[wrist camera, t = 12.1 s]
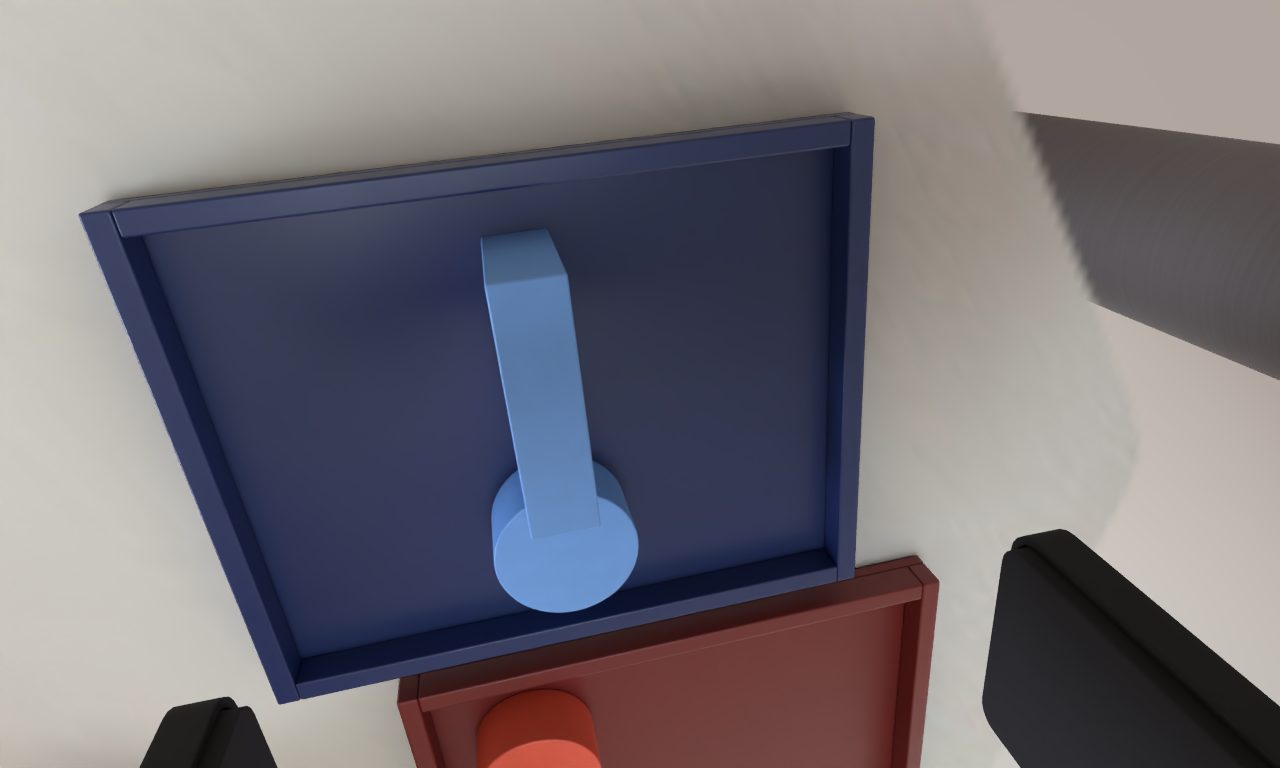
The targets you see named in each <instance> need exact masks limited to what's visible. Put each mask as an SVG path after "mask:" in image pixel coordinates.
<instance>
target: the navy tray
mask: <svg viewBox="0 0 1280 768" xmlns="http://www.w3.org/2000/svg"><path fill="white" fill-rule="evenodd" d="M874 125H875V119H874V117H870V116H865V115H859V114H854V113H850V112H845V113H837V114H829V115H820V116H812V117H804V118H795V119H787V120H779V121H770V122H762V123H753V124H745V125H737V126H728V127H720V128H712V129H703V130H695V131H687V132H678V133H670V134H662V135H653V136H645V137H637V138H628V139H620V140H612V141H603V142H595V143H587V144H578V145H570V146H562V147H553V148H545V149H537V150H528V151H520V152H512V153H503V154H495V155H487V156H478V157H470V158H461V159H453V160H445V161H436V162H428V163H420V164H411V165H403V166H395V167H386V168H378V169H370V170H361V171H353V172H345V173H336V174H328V175H320V176H311V177H303V178H295V179H286V180H278V181H270V182H261V183H253V184H245V185H236V186H228V187H220V188H211V189H203V190H195V191H186V192H178V193H169V194H161V195H153V196H144V197H136V198H128V199H119V200H111V201H107V202H104V203H102V204H100V205H98V206H95V207H93V208H91V209H89V210H86V211H84V212H82V213H80V214H79V218H80V220H81V223H82V225H83V228H84V230H85V232H86V235H87V237H88V240H89V242H90V245H91V247H92V250H93V252H94V254H95V257H96V259H97V262H98V264H99V267H100V269H101V272H102V274H103V276H104V279H105V281H106V284H107V286H108V289H109V291H110V294H111V296H112V298H113V301H114V303H115V306H116V308H117V311H118V313H119V316H120V318H121V320H122V323H123V325H124V328H125V330H126V333H127V335H128V338H129V340H130V343H131V345H132V347H133V350H134V352H135V355H136V357H137V360H138V362H139V365H140V367H141V369H142V372H143V374H144V377H145V379H146V382H147V384H148V387H149V389H150V391H151V394H152V396H153V399H154V401H155V404H156V406H157V409H158V411H159V413H160V416H161V418H162V421H163V423H164V426H165V428H166V431H167V433H168V435H169V438H170V440H171V443H172V445H173V448H174V450H175V453H176V455H177V457H178V460H179V462H180V465H181V467H182V470H183V472H184V475H185V477H186V479H187V482H188V484H189V487H190V489H191V492H192V494H193V497H194V499H195V501H196V504H197V506H198V509H199V511H200V514H201V516H202V519H203V521H204V523H205V526H206V528H207V531H208V533H209V536H210V538H211V541H212V543H213V545H214V548H215V550H216V553H217V555H218V558H219V560H220V563H221V565H222V567H223V570H224V572H225V575H226V577H227V580H228V582H229V585H230V587H231V589H232V592H233V594H234V597H235V599H236V602H237V604H238V607H239V609H240V611H241V614H242V616H243V619H244V621H245V624H246V626H247V629H248V631H249V633H250V636H251V638H252V641H253V643H254V646H255V648H256V651H257V653H258V655H259V658H260V660H261V663H262V665H263V668H264V670H265V673H266V675H267V677H268V680H269V682H270V685H271V687H272V690H273V692H274V695H275V697H276V699H277V702H278V704H285V703H289V702H294V701H298V700H300V698H301V699H307V698H311V697H316V696H320V695H325V694H329V693H334V692H338V691H343V690H347V689H352V688H356V687H361V686H365V685H370V684H375V683H379V682H384V681H388V680H393V679H397V678H402V677H406V676H411V675H415V674H420V673H424V672H429V671H433V670H438V669H442V668H447V667H452V666H456V665H461V664H465V663H470V662H474V661H479V660H483V659H488V658H492V657H497V656H501V655H506V654H510V653H515V652H520V651H524V650H529V649H533V648H538V647H542V646H547V645H551V644H556V643H560V642H565V641H569V640H574V639H578V638H583V637H588V636H592V635H597V634H601V633H606V632H610V631H615V630H619V629H624V628H628V627H633V626H637V625H642V624H646V623H651V622H656V621H660V620H665V619H669V618H674V617H678V616H683V615H687V614H692V613H696V612H701V611H705V610H710V609H714V608H719V607H724V606H728V605H733V604H737V603H742V602H746V601H751V600H755V599H760V598H764V597H769V596H773V595H778V594H782V593H787V592H792V591H796V590H801V589H805V588H810V587H814V586H819V585H823V584H828V583H832V582H836V581H837V580H838V581H841V580H845V579H850V578H853V577H854V573H855V551H856V528H857V506H858V484H859V461H860V439H861V416H862V394H863V372H864V349H865V327H866V304H867V282H868V259H869V237H870V215H871V192H872V170H873V147H874ZM538 229H547V230H548V232H549V234H550V236H551V239H552V241H553V243H554V245H555V248H556V250H557V252H558V255H559V257H560V259H561V261H562V264H563V266H564V268H565V270H566V273H567V275H568V282H569V289H570V297H571V304H572V312H573V319H574V327H575V334H576V342H577V349H578V356H579V364H580V371H581V379H582V386H583V394H584V401H585V409H586V416H587V424H588V431H589V439H590V446H591V454H592V461H595V462H596V463H598V464H600V465H602V466H603V467H605V468H606V469H607V470H608V471H609V472H611V473H612V474H613V476H614V477H615V478H616V479H617V481H618V483H619V484H620V486H621V488H622V491H623V494H624V497H625V500H626V503H627V505H628V508H629V511H630V514H631V517H632V520H633V522H634V525H635V528H636V531H637V535H638V543H639V549H638V556H637V559H636V563H635V565H634V568H633V570H632V572H631V574H630V575H629V577H628V578H627V580H626V581H625V582H624V583H623V585H622V586H621V587H620V588H619V589H618V590H617V591H616V592H614V593H613V594H612V595H611V596H609V597H608V598H606V599H604V600H603V601H601V602H599V603H597V604H595V605H593V606H590V607H588V608H585V609H581V610H577V611H571V612H561V613H555V612H545V611H540V610H536V609H532V608H530V607H528V606H525V605H523V604H522V603H520V602H518V601H517V600H515V599H514V598H513V597H511V596H510V595H509V594H508V593H507V592H506V591H505V589H504V588H503V586H502V585H501V584H500V582H499V580H498V578H497V575H496V572H495V567H494V558H493V540H492V522H491V515H492V507H493V503H494V500H495V497H496V495H497V493H498V491H499V489H500V488H501V487H502V485H503V484H504V482H505V481H506V480H507V479H508V478H509V477H510V476H511V475H512V474H513V473H515V472H516V471H517V470H518V466H517V461H516V455H515V450H514V444H513V439H512V434H511V428H510V423H509V417H508V412H507V407H506V401H505V396H504V390H503V385H502V379H501V374H500V369H499V363H498V358H497V352H496V347H495V341H494V336H493V331H492V325H491V320H490V314H489V309H488V303H487V298H486V293H485V287H484V275H483V262H482V250H481V238H482V237H486V236H494V235H501V234H508V233H516V232H523V231H530V230H538Z"/></svg>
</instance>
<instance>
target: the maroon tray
mask: <svg viewBox="0 0 1280 768" xmlns="http://www.w3.org/2000/svg"><path fill="white" fill-rule="evenodd" d="M938 592H939V580H938V579H937V578H936V577H935V576H934V574H933V573H932V572H931V571H930V570H929V569H928V568H927V567H926V565H925V564H923V562H922V560H921V559H920V558H919V557H918V556H913V557H909V558H904V559H899V560H895V561H890V562H886V563H881V564H877V565H872V566H867V567H863V568H858V569H855V573H854V577H853V578H850V579H845V580H841V581H838V580H837V581H836V582H832V583H828V584H823V585H819V586H814V587H810V588H805V589H801V590H796V591H792V592H787V593H782V594H778V595H773V596H769V597H764V598H760V599H755V600H751V601H746V602H742V603H737V604H733V605H728V606H724V607H719V608H714V609H710V610H705V611H701V612H696V613H692V614H687V615H683V616H678V617H674V618H669V619H665V620H660V621H656V622H651V623H646V624H642V625H637V626H633V627H628V628H624V629H619V630H615V631H610V632H606V633H601V634H597V635H592V636H588V637H583V638H578V639H574V640H569V641H565V642H560V643H556V644H551V645H547V646H542V647H538V648H533V649H529V650H524V651H520V652H515V653H510V654H506V655H501V656H497V657H492V658H488V659H483V660H479V661H474V662H470V663H465V664H461V665H456V666H452V667H447V668H442V669H438V670H433V671H429V672H424V673H420V674H415V675H411V676H406V677H402V678H400V680H399V689H398V698H397V706H398V709H399V712H400V715H401V718H402V722H403V725H404V728H405V731H406V734H407V737H408V741H409V744H410V747H411V750H412V753H413V756H414V760H415V763H416V766H417V768H477V759H476V736H477V731H478V729H479V726H480V724H481V722H482V721H483V719H484V717H485V716H486V715H487V714H488V713H489V712H490V711H491V710H492V709H493V708H494V707H495V706H496V705H498V704H499V703H500V702H502V701H504V700H505V699H507V698H509V697H511V696H514V695H516V694H519V693H522V692H526V691H531V690H539V689H551V690H558V691H562V692H566V693H568V694H571V695H573V696H575V697H577V698H578V699H579V700H581V701H582V702H583V703H584V704H585V705H586V707H587V708H588V709H589V711H590V713H591V716H592V720H593V725H594V730H595V735H596V740H597V746H598V751H599V756H600V762H601V767H602V768H920V761H921V751H922V742H923V733H924V723H925V714H926V704H927V695H928V686H929V676H930V667H931V658H932V648H933V639H934V629H935V620H936V611H937V601H938Z"/></svg>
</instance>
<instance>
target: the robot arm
mask: <svg viewBox="0 0 1280 768" xmlns="http://www.w3.org/2000/svg"><path fill="white" fill-rule="evenodd" d="M982 704H983V710H984V713H985V716H986V718H987V721H988V723H989V725H990V726H991V728H992V729H993V731H994V732H995V734H996V735H997V736H998V738H999V739H1000V740H1001V742H1002V743H1003V744H1004V746H1005V747H1006V748H1007V750H1008V751H1009V752H1010V754H1011V755H1012V756H1013V758H1014V759H1015V761H1016V762H1017V763H1018V765H1019V766H1020V767H1021V768H1280V706H1279V705H1277V704H1276V703H1275V702H1274V701H1273V700H1271V699H1270V698H1269V697H1268V696H1267V695H1265V694H1264V693H1263V692H1262V691H1261V690H1259V689H1258V688H1257V687H1256V686H1255V685H1253V684H1252V683H1251V682H1250V681H1249V680H1247V679H1246V678H1245V677H1244V676H1243V675H1241V674H1240V673H1239V672H1238V671H1237V670H1235V669H1234V668H1233V667H1232V666H1231V665H1229V664H1228V663H1227V662H1226V661H1224V660H1223V659H1222V658H1221V657H1220V656H1219V655H1217V654H1216V653H1215V652H1214V651H1213V650H1211V649H1210V648H1209V647H1208V646H1206V645H1205V644H1204V643H1203V642H1202V641H1201V640H1199V639H1198V638H1197V637H1196V636H1195V635H1193V634H1192V633H1191V632H1190V631H1189V630H1187V629H1186V628H1185V627H1184V626H1183V625H1181V624H1180V623H1179V622H1178V621H1177V620H1175V619H1174V618H1173V617H1172V616H1171V615H1169V614H1168V613H1167V612H1166V611H1165V610H1163V609H1162V608H1161V607H1160V606H1159V605H1157V604H1156V603H1155V602H1154V601H1152V600H1151V599H1150V598H1149V597H1148V596H1147V595H1145V594H1144V593H1143V592H1142V591H1140V590H1139V589H1138V588H1137V587H1136V586H1134V585H1133V584H1132V583H1131V582H1130V581H1129V580H1127V579H1126V578H1125V577H1124V576H1123V575H1121V574H1120V573H1119V572H1118V571H1117V570H1115V569H1114V568H1113V567H1112V566H1111V565H1109V564H1108V563H1107V562H1106V561H1105V560H1103V559H1102V558H1101V557H1100V556H1098V555H1097V554H1096V553H1095V552H1094V551H1093V550H1091V549H1090V548H1089V547H1088V546H1087V545H1085V544H1084V543H1083V542H1082V541H1081V540H1079V539H1078V538H1077V537H1076V536H1075V535H1073V534H1072V533H1070V532H1068V531H1067V530H1062V529H1057V530H1052V531H1047V532H1042V533H1037V534H1032V535H1027V536H1022V537H1019V538H1017V539H1016V540H1015V541H1014V542H1013V545H1012V548H1011V551H1008V552H1006V553H1005V554H1004V556H1003V560H1002V566H1001V573H1000V580H999V586H998V593H997V600H996V607H995V614H994V621H993V628H992V634H991V641H990V648H989V655H988V662H987V669H986V676H985V682H984V689H983V696H982ZM140 768H277V765H276V763H275V761H274V758H273V756H272V754H271V751H270V749H269V747H268V744H267V742H266V740H265V737H264V735H263V733H262V730H261V728H260V726H259V723H258V721H257V719H256V716H255V714H254V712H253V711H252V709H251V708H250V707H248V706H244V707H239V708H238V706H237V705H236V703H235V702H234V700H233V699H231V698H230V697H222V698H217V699H212V700H207V701H202V702H197V703H192V704H187V705H182V706H177V707H173V708H172V709H170V710H169V711H168V712H167V713H166V715H165V717H164V718H163V720H162V722H161V724H160V726H159V728H158V730H157V732H156V734H155V736H154V739H153V741H152V743H151V745H150V747H149V749H148V751H147V753H146V755H145V757H144V759H143V762H142V764H141V766H140Z"/></svg>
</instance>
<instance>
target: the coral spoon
mask: <svg viewBox="0 0 1280 768" xmlns="http://www.w3.org/2000/svg"><path fill="white" fill-rule="evenodd" d="M476 759H477V768H602V767H601V762H600V756H599V751H598V746H597V740H596V735H595V730H594V725H593V720H592V716H591V713H590V711H589V709H588V708H587V707H586V705H585V704H584V703H583V702H582V701H581V700H579V699H578V698H577V697H575V696H573V695H571V694H568V693H566V692H562V691H558V690H551V689H539V690H531V691H526V692H522V693H519V694H516V695H514V696H511V697H509V698H507V699H505V700H504V701H502V702H500V703H499V704H498V705H496V706H495V707H494V708H493V709H492V710H491V711H490V712H489V713H488V714H487V715H486V716H485V717H484V719H483V721H482V722H481V724H480V726H479V729H478V731H477V736H476Z"/></svg>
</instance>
